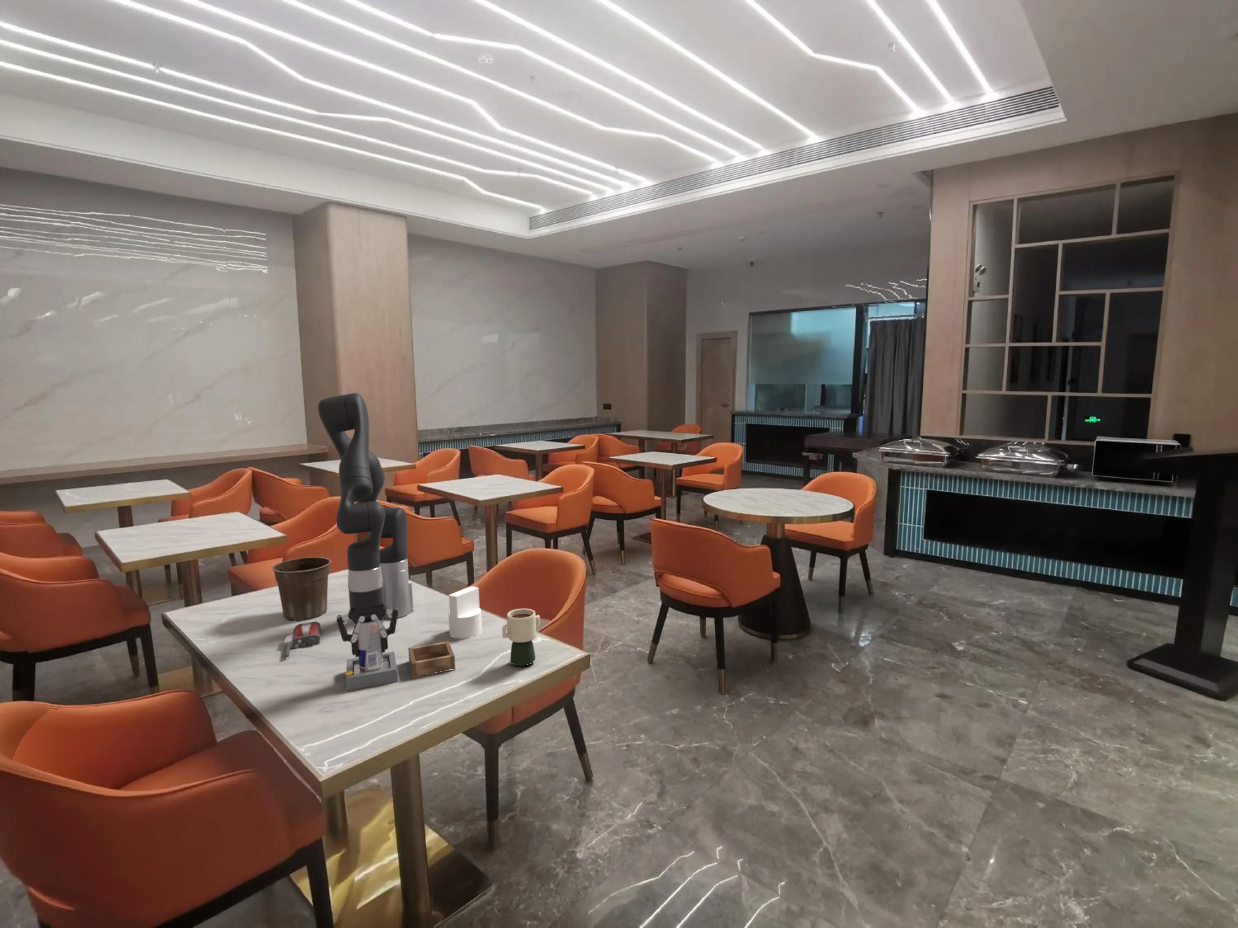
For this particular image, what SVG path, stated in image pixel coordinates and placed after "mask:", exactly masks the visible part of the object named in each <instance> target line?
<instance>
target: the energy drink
mask: <svg viewBox="0 0 1238 928" xmlns="http://www.w3.org/2000/svg"><path fill="white" fill-rule="evenodd" d="M357 641H358V654H359V657H358V658H359V669H360V670H361V671H364V672H371V671H375V670H378V669H380V668H381V667H382V666H383V655H382V654H383V653H382V641H381V634H380V631H379V630H378V622H377V621H374V622H373V621H371V622H365V623H360V625H359V634H358V637H357Z"/></svg>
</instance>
